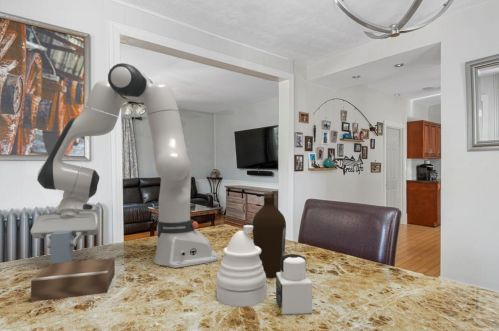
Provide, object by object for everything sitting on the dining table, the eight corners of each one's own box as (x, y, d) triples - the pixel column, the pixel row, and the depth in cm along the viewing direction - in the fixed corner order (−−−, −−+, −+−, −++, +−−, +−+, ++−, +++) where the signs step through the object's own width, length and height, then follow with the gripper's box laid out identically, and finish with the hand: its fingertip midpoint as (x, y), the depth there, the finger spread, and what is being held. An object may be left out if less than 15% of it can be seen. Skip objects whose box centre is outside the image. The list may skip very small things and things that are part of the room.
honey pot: (271, 288, 79) (271, 222, 79) (257, 310, 66) (257, 232, 67) (228, 282, 83) (228, 220, 83) (207, 302, 71) (207, 228, 71)
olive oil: (253, 278, 86) (253, 194, 86) (251, 266, 96) (251, 191, 96) (288, 278, 86) (288, 194, 86) (283, 266, 97) (283, 191, 97)
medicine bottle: (275, 300, 71) (275, 252, 72) (304, 299, 72) (303, 251, 72) (281, 315, 64) (281, 261, 64) (312, 313, 65) (312, 260, 65)
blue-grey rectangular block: (73, 259, 98) (72, 230, 98) (68, 264, 93) (68, 233, 93) (56, 261, 96) (55, 231, 96) (50, 265, 91) (50, 234, 92)
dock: (114, 274, 89) (114, 257, 89) (106, 292, 76) (107, 272, 76) (51, 280, 84) (51, 262, 84) (30, 301, 71) (31, 280, 71)
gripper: (35, 208, 99) (20, 243, 89) (100, 205, 104) (93, 239, 94) (41, 218, 103) (27, 254, 94) (103, 216, 108) (97, 249, 99)
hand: (61, 246), depth 94 cm, fingers closed on blue-grey rectangular block, 5 cm apart
